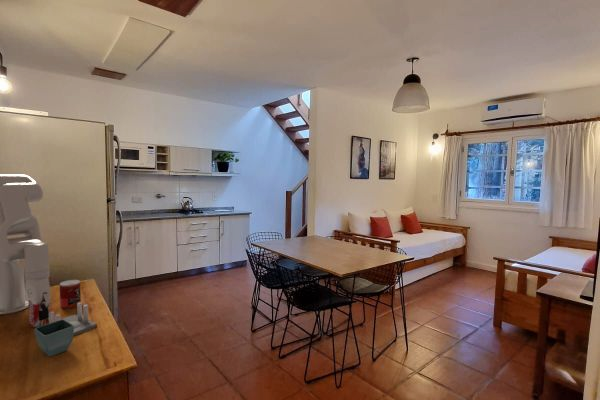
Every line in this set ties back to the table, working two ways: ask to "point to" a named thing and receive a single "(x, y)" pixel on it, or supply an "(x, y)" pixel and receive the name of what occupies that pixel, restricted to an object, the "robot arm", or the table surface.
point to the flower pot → (54, 337)
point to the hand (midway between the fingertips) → (39, 316)
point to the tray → (76, 319)
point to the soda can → (35, 315)
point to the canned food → (70, 294)
